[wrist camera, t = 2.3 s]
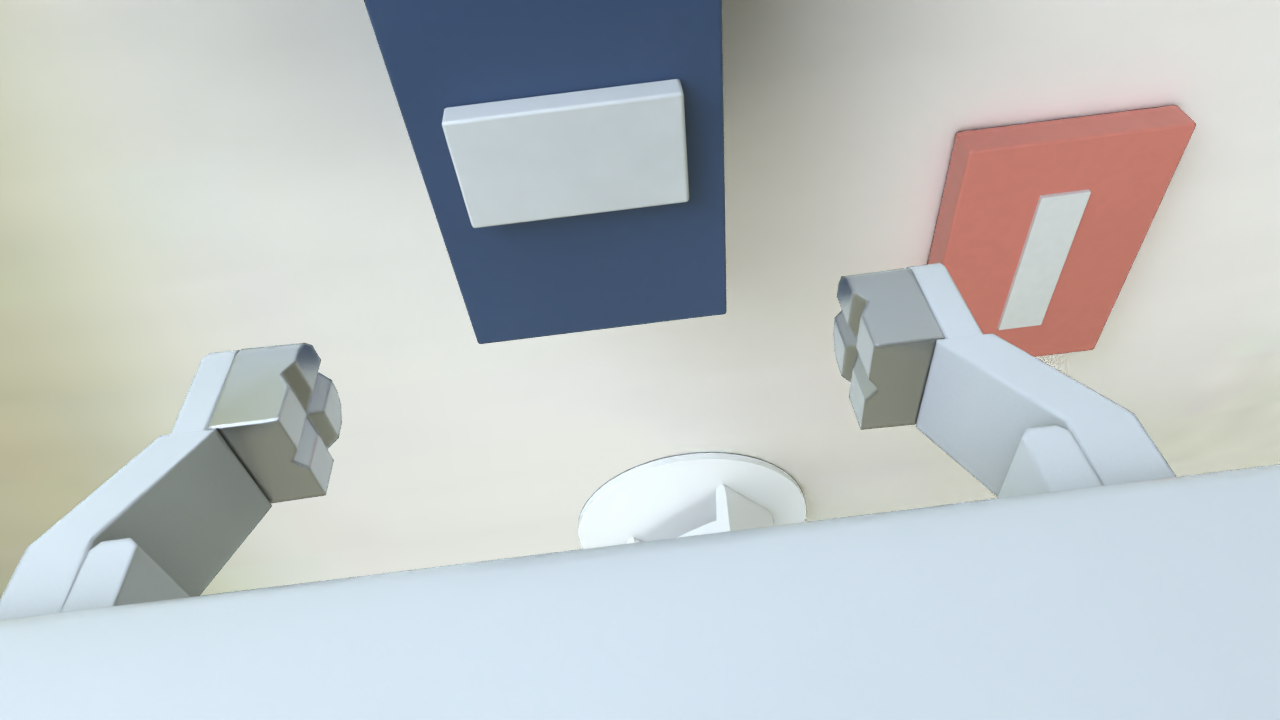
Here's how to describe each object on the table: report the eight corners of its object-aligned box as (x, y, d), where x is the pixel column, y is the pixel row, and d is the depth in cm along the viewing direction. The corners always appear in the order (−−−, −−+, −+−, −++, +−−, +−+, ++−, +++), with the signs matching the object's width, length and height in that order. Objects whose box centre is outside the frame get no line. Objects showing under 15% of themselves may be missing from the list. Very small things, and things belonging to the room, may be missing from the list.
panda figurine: (675, 602, 47) (712, 912, 37) (522, 538, 41) (515, 890, 30) (848, 511, 41) (951, 846, 31) (703, 420, 35) (770, 802, 25)
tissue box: (390, -234, 18) (316, -104, 12) (664, -269, 18) (726, -155, 12) (491, 160, 25) (477, 363, 19) (686, 136, 25) (730, 332, 19)
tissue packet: (955, 130, 26) (971, 154, 25) (1177, 103, 26) (1201, 126, 25) (907, 350, 33) (918, 375, 32) (1080, 329, 33) (1095, 353, 32)
